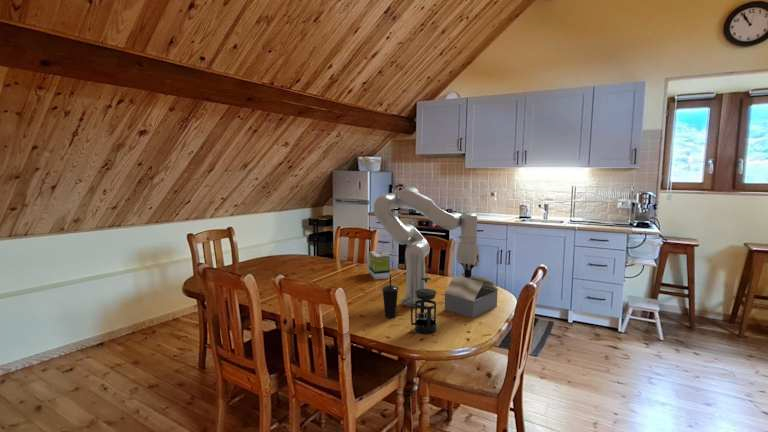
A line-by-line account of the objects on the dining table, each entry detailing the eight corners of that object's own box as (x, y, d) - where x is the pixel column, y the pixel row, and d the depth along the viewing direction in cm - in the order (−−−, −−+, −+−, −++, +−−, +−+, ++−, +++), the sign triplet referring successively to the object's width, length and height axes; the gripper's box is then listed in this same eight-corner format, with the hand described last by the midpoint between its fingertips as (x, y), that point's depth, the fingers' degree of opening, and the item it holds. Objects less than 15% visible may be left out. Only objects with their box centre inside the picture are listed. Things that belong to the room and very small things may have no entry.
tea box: (368, 273, 266) (368, 251, 264) (383, 272, 269) (383, 250, 267) (374, 279, 251) (374, 256, 249) (390, 278, 254) (390, 255, 252)
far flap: (489, 280, 198) (490, 279, 198) (461, 274, 209) (461, 272, 209) (497, 290, 204) (498, 289, 205) (469, 284, 215) (470, 282, 216)
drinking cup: (388, 312, 197) (389, 271, 195) (401, 316, 193) (401, 274, 190) (378, 316, 192) (378, 275, 189) (391, 320, 187) (391, 278, 184)
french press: (433, 324, 183) (434, 274, 180) (441, 332, 174) (442, 280, 171) (407, 326, 180) (408, 275, 177) (414, 335, 171) (414, 282, 168)
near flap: (473, 301, 189) (473, 300, 188) (445, 293, 200) (444, 292, 199) (483, 283, 194) (483, 281, 193) (455, 276, 205) (454, 275, 204)
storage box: (473, 318, 190) (473, 301, 189) (444, 309, 201) (445, 293, 200) (496, 306, 206) (497, 290, 204) (469, 298, 217) (469, 284, 215)
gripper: (451, 238, 198) (450, 275, 201) (478, 242, 188) (477, 281, 190) (459, 236, 204) (459, 272, 206) (486, 240, 193) (485, 278, 196)
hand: (467, 277), depth 198 cm, fingers closed
